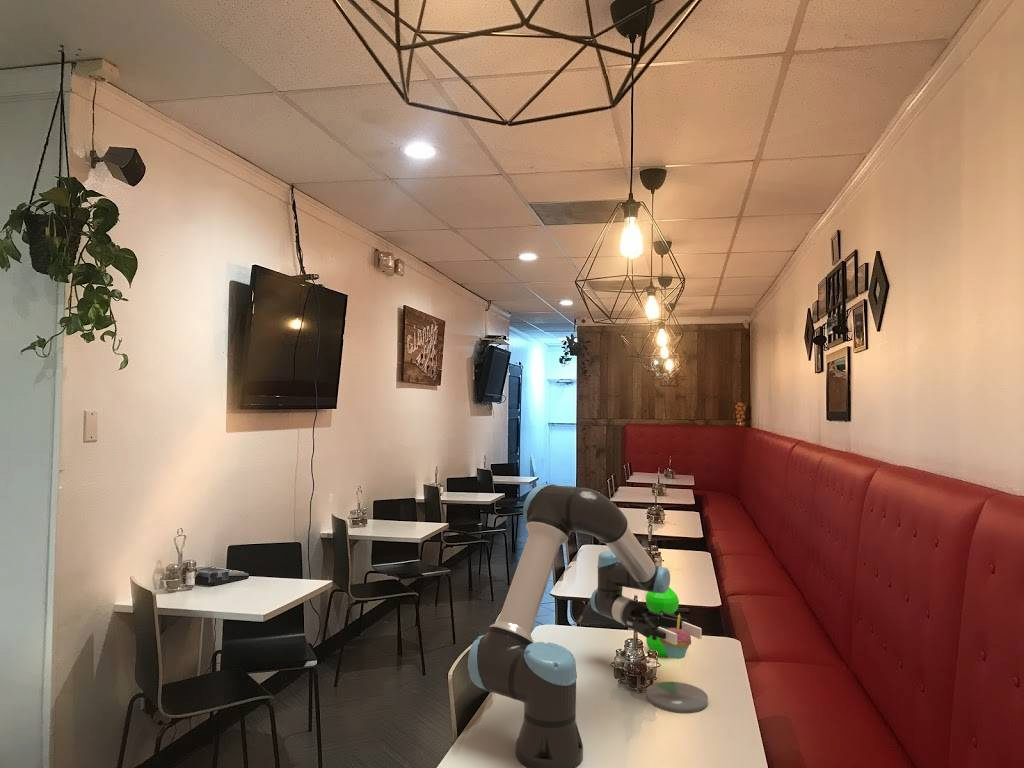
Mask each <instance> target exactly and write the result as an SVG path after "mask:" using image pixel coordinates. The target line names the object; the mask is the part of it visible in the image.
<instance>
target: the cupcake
mask: <svg viewBox="0 0 1024 768" xmlns="http://www.w3.org/2000/svg"><path fill="white" fill-rule="evenodd" d="M677 616H678V620H677V628H667V629H666V630H669V631H671V632H673V633H676V634H677V645H674V644H672V643H669V642H667V641H665V640H662V639H660V638H659V640H660V642H661V643H662V644H663V645H664V647H665V650H666V654H667V656H666V657H669V658H670V659H674V660H675V659H677V660H679V659H684V658H685V656H686V653H687V651H688V648H689V646H690V645H692V636H691V635H689V633H688V632H686V631H684V630H681V629H679V625H680V617H681V613H680V612H679V613H678V615H677Z"/></svg>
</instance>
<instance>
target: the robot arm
mask: <svg viewBox="0 0 1024 768" xmlns="http://www.w3.org/2000/svg"><path fill="white" fill-rule="evenodd" d="M523 503H524V504H523V510H524V511H523V513H522V515H523V519H524V521H525V523H526V525H525V528H526V530H527V533H528V536H527V539H526V542H525V545H524V547H523V550H522V553H521V555H520V558H519V561H518V565H517V567H516V570H515V572H514V575H513V578H512V581H511V584H510V587H509V589H508V593H507V595H506V597H505V600H504V604H503V607H502V608H501V612H500V615H499V616H498V620H497V622H495V623H492V624H490V625H489V627H488V630H487V631H486V635H480V636H478V637H477V638H476V639H474V641H472V642H473V643H472V644H471V646H470V648H469V652H468V658H467V670H468V674H469V678H470V680H471V682H472V683H473V684H474V685H475V686H477V687H478V688H479V689H482V690H485V691H486V692H488V693H491V694H492V693H493V694H497V695H500V696H503V697H506V698H510V699H512V700H515V701H519V702H523V706H524V707H523V713H524V714H523V720H522V723H521V728H520V730H519V734H518V737H517V739H516V743H515V757H516V758H517V760H518V761H519V763H521V764H522V765H524V766H525V767H527V768H575V767H577V766H578V765H580V764H581V763H582V761H583V758H584V744H583V741H582V737H581V734H580V732H579V728H578V724H577V722H576V721H577V720H576V719H577V717H576V714H577V711H576V709H577V705H576V704H577V697H576V696H577V679H578V674H577V673H578V672H577V665H576V664H577V663H576V658H575V657H574V654H573V653H572V652H571V651H570V650H569V649H568V648H566V647H565V646H562V645H559V644H557V643H554V642H543V641H536V642H535V641H534V640H533V638H532V632H533V629H534V625H535V623H536V620H537V616H538V613H539V610H540V607H541V605H542V601H543V598H544V596H545V591H546V589H547V586H548V583H549V580H550V578H551V574H552V571H553V569H554V564H555V561H556V559H557V556H558V553H559V550H560V547H561V545H563V544H565V543H568V541H569V537H570V535H571V533H581V534H586V535H590V536H593V537H595V538H596V540H598V541H599V542H601V543H603V544H605V545H606V546H607V547H608V549H609V550H608V551H607V550H606V551H602V552H599V554H598V557H597V558H598V560H597V588H596V589H594V591H592V593H591V596H590V598H589V602H590V603H589V604H590V607H591V609H592V610H593V611H594V612H596V613H598V614H599V615H600V616H603V617H606V618H609V619H611V620H612V621H613V620H614V621H615V622H618V623H620V624H622V625H623V626H626V627H627V628H629V629H631V630H634V631H635V632H636V633H638V634H640V635H641V636H643V637H645V638H646V637H647V638H649V637H650V636H652V640H657V637H658V638H660V639H662V640H665V641H667V642H669V643H672V644H674V645H677V634H676V633H673V632H671V631H669V630H666V629H664V628H661V627H662V626H664V627H669V628H677V620H678V615H672V614H668V613H666V612H664V611H660V614H658V613H654V612H652V611H650V610H649V609H648V608H647V605H646V604H644V603H643V602H640V601H638V600H634V599H633V598H630V597H628V596H624V595H623V589H624V588H628V589H633V590H639V591H645V592H653V593H665V592H666V591H667V590H668V588H669V587H670V585H671V574H670V570H669V569H668V568H667V567H663V566H661V565H656V564H655V563H654V561H653V560H652V558H651V557H650V556H649V554H648V553H647V552H646V550H645V549H644V548H643V545H642V544H641V543H640V542H639V539H638V538H636V536H635V535H634V533H633V532H632V530H631V529H630V527H628V526H629V525H628V524H629V523H628V519H627V517H626V516H625V514H624V512H623V511H622V510H621V509H620V507H619V506H617V505H616V504H615V503H614V502H613V501H612V500H611V499H609V498H608V497H607V496H605V495H604V494H602V493H601V492H598V490H595V489H592V488H589V487H577V486H567V485H558V484H553V483H549V484H539V485H537V486H534V487H533V488H532V489H531V490H530V491H529V493H528V494H527V496H526V498H525V500H524V502H523ZM658 619H659V624H658ZM689 620H690V619H688V618H686V617H682V616H680V625H679V629H681V630H684V631H686V632H688V633H689V635H690V636H691V637H694V638H696V639H699V640H701V639H702V632H703V630H702V628H701V627H698V626H696V625H693V624H691V623H689ZM657 627H658V630H657Z"/></svg>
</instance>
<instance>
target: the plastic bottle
mask: <svg viewBox="0 0 1024 768" xmlns="http://www.w3.org/2000/svg"><path fill="white" fill-rule="evenodd" d="M679 600H680V599H679V597H678V595H677V592H675V591H674V590H673V589H672V587H670V586H669V588H668V590H667V591H666V592H665V593H653V592H648V591H646V594H645V603H646V604H645V605H646V606H647V608H648V610H649V611H652V612H654V613H658V614H660V611H664V612H666V613H668V614H672V615H675V614H676V613H675V612H677V610H678V609H679V607H680V606H679V603H680V601H679ZM675 616H676V615H675ZM658 624H659V619H658ZM661 628H664V629H667V628H669V627H664V626H662V627H661ZM657 630H658V627H657ZM645 639H646V646H647V647H648V650H650V651H651V650H655V651H657V652H658V656H657V657H665V658H666V657H668V656H667V654H666V650H665V647H664V645H663V644H662V643H661V642H660V640H659V638H658V637H657V640H652V636H650V637H649V638H647V637H645Z"/></svg>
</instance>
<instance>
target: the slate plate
mask: <svg viewBox="0 0 1024 768" xmlns="http://www.w3.org/2000/svg"><path fill="white" fill-rule="evenodd" d="M645 693H646V696H647V697H646V700H647V699H648V700H647V702H649V703H650V702H651V703H652V704H653V705H652V704H651V703H650V704H651V705H652V706H654V705H655V706H654V707H656V706H657V707H656V708H658V707H659V708H658V709H660V708H661V710H663V709H664V710H663V711H666V710H668V711H667V712H670V711H671V712H672V713H676V714H677V713H678V714H679V713H680V714H689V713H690V714H691V713H698V712H700V711H703V710H705V709H706V708H707V707H708V702H709V701H708V699H709V698H708V694H707V693H706V692H705V691H704V690H703V689H701V688H700V687H697V686H696V685H692V684H689V683H686V682H681V681H680V682H679V681H660V682H655V683H652V684H651V685H648V687H647V688H646V691H645Z"/></svg>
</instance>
